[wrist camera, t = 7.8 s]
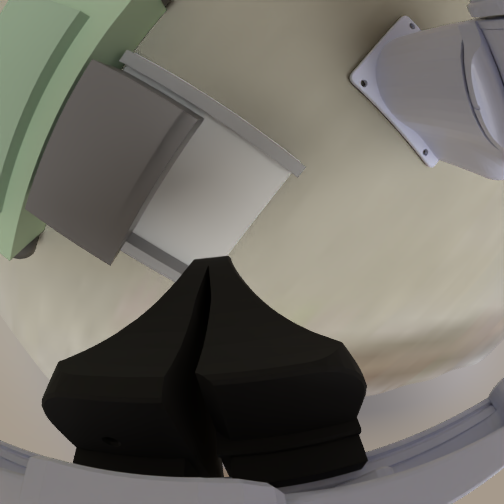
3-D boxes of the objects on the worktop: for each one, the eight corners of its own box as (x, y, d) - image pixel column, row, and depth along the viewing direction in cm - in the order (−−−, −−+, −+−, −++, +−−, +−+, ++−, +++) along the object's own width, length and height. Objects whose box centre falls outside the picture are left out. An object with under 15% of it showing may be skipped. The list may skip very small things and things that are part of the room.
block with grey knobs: (341, 107, 17) (390, 108, 11) (174, 322, 23) (164, 380, 17) (92, -35, 10) (55, -68, 4) (-22, 194, 16) (-68, 221, 10)
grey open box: (204, 118, 16) (197, 119, 11) (134, 228, 18) (110, 265, 14) (125, 71, 14) (92, 59, 9) (64, 184, 16) (24, 208, 12)
